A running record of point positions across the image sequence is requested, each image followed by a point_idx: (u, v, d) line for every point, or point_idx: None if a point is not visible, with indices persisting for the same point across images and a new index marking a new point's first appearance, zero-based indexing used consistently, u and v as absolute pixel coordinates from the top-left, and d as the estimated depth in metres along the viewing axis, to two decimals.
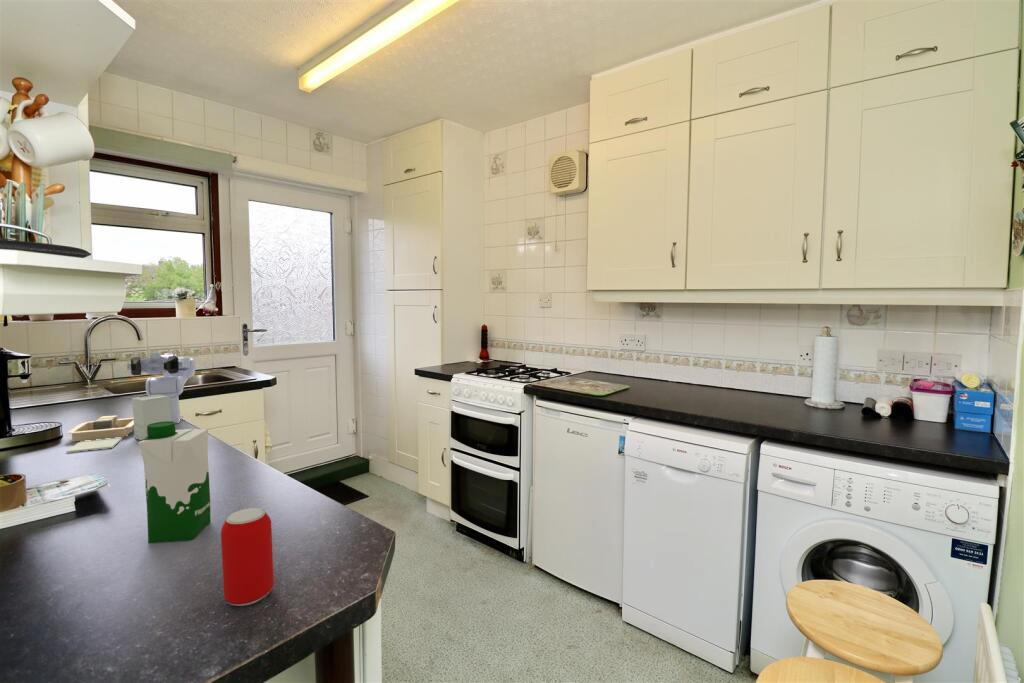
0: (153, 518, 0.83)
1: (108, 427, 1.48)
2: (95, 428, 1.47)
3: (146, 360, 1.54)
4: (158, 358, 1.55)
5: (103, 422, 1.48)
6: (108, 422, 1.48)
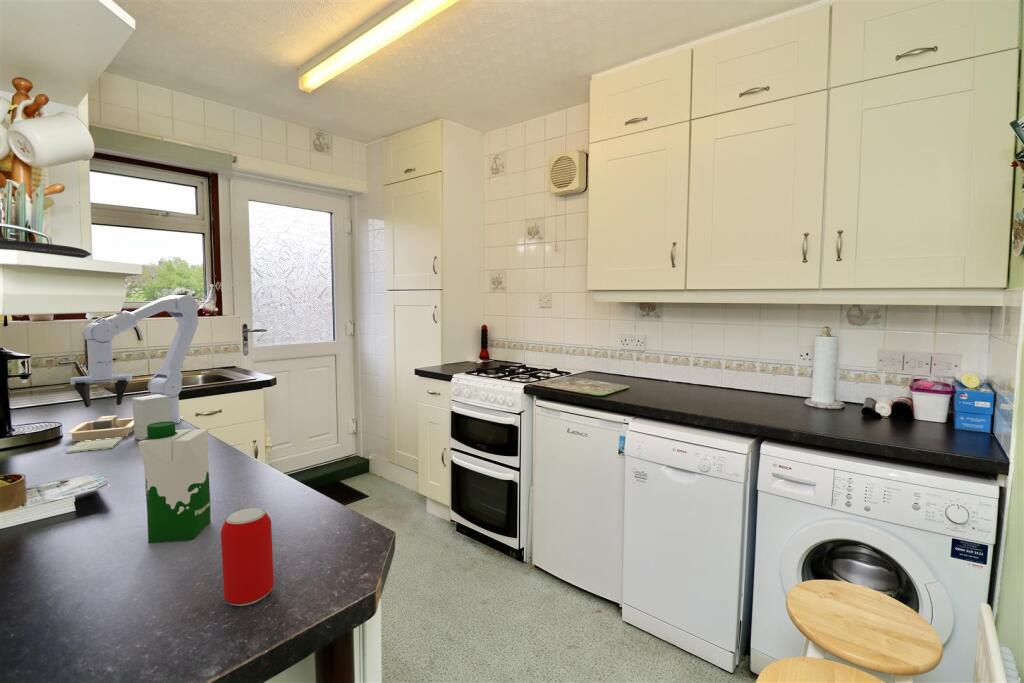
0: (153, 518, 0.83)
1: (108, 427, 1.48)
2: (95, 428, 1.47)
3: (89, 380, 1.47)
4: None
5: (103, 422, 1.48)
6: (108, 422, 1.48)
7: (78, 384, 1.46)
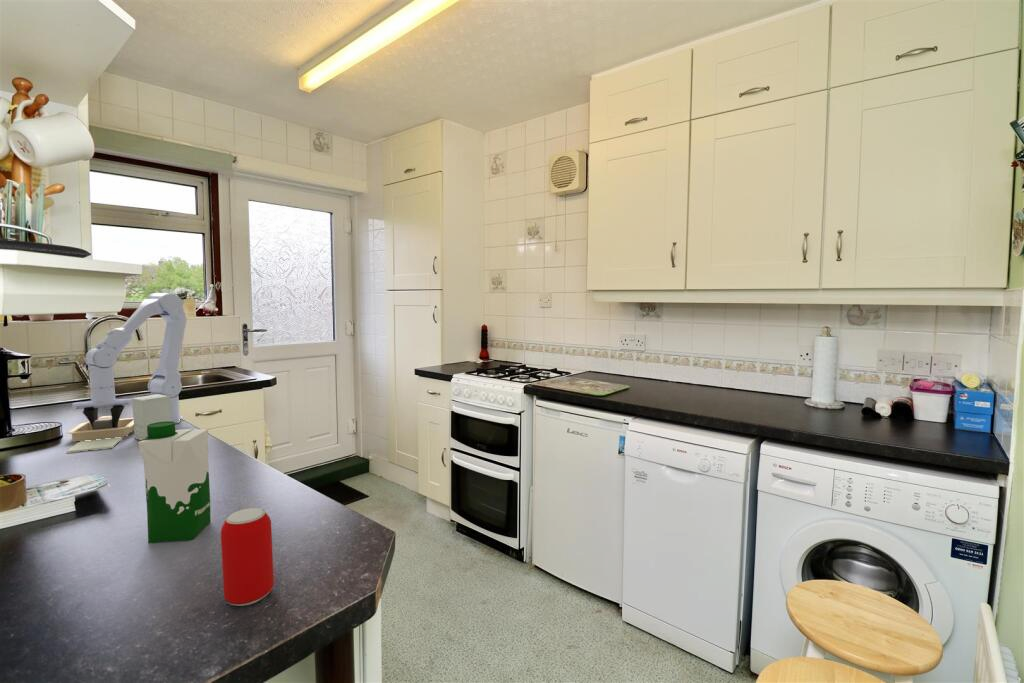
0: (153, 518, 0.83)
1: (108, 427, 1.48)
2: (95, 428, 1.47)
3: None
4: None
5: (103, 422, 1.48)
6: (108, 422, 1.48)
7: None
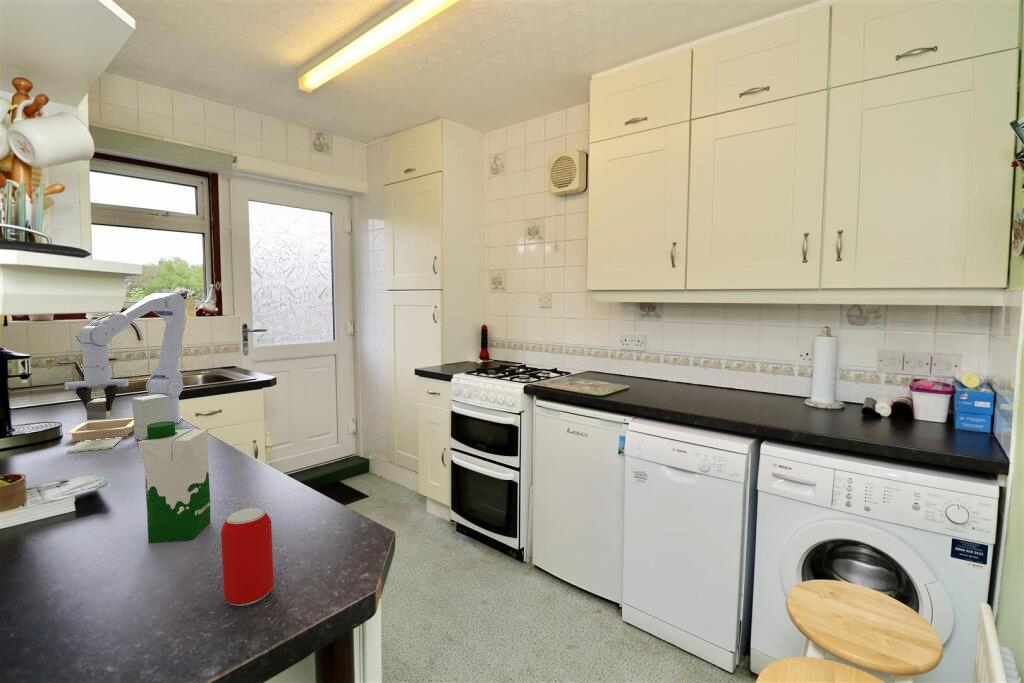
0: (153, 518, 0.83)
1: (102, 408, 1.43)
2: (88, 409, 1.42)
3: (84, 385, 1.42)
4: None
5: (97, 403, 1.42)
6: (102, 403, 1.43)
7: None
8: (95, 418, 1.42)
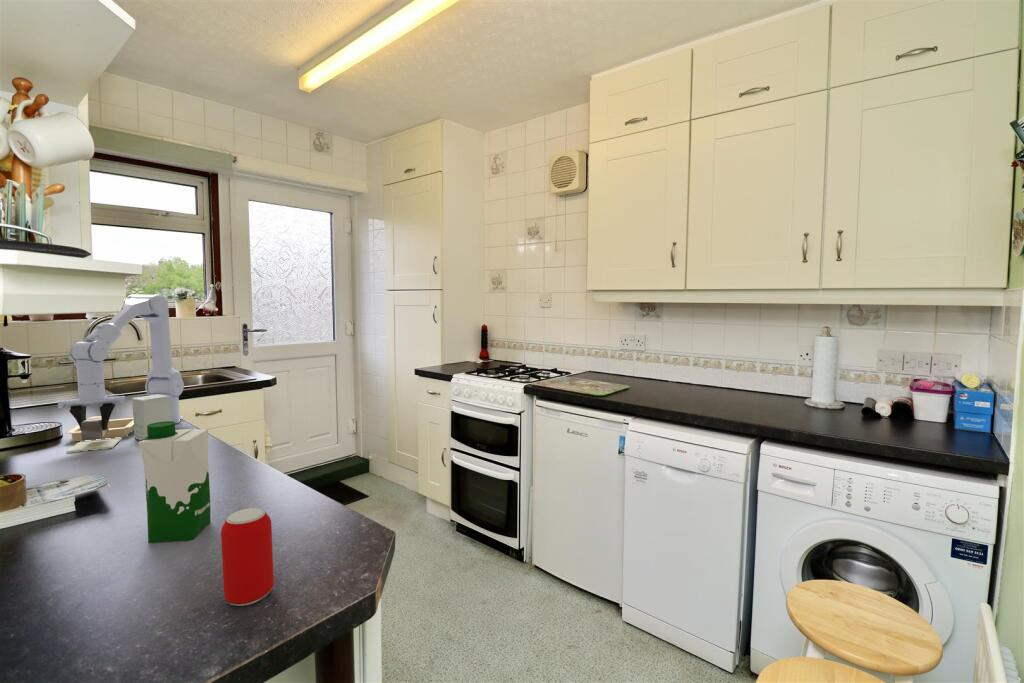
0: (153, 518, 0.83)
1: (97, 428, 1.37)
2: (83, 429, 1.35)
3: (79, 403, 1.36)
4: None
5: (92, 422, 1.36)
6: (97, 422, 1.37)
7: None
8: (90, 438, 1.36)
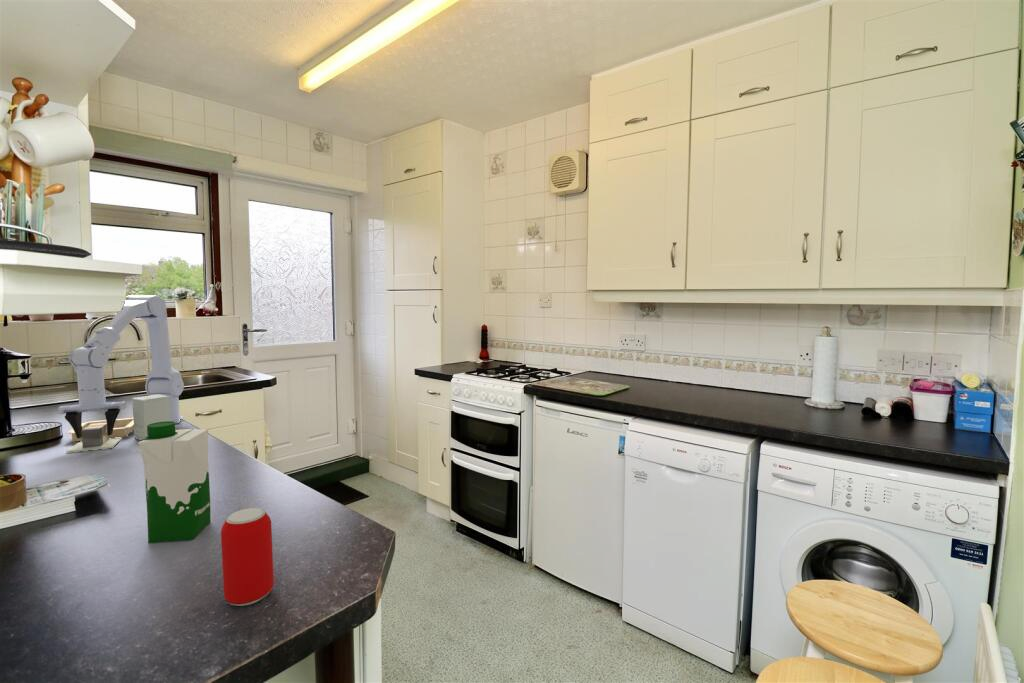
0: (153, 518, 0.83)
1: (98, 435, 1.37)
2: (84, 437, 1.35)
3: None
4: None
5: (92, 430, 1.36)
6: (98, 430, 1.37)
7: (67, 414, 1.35)
8: (91, 446, 1.36)
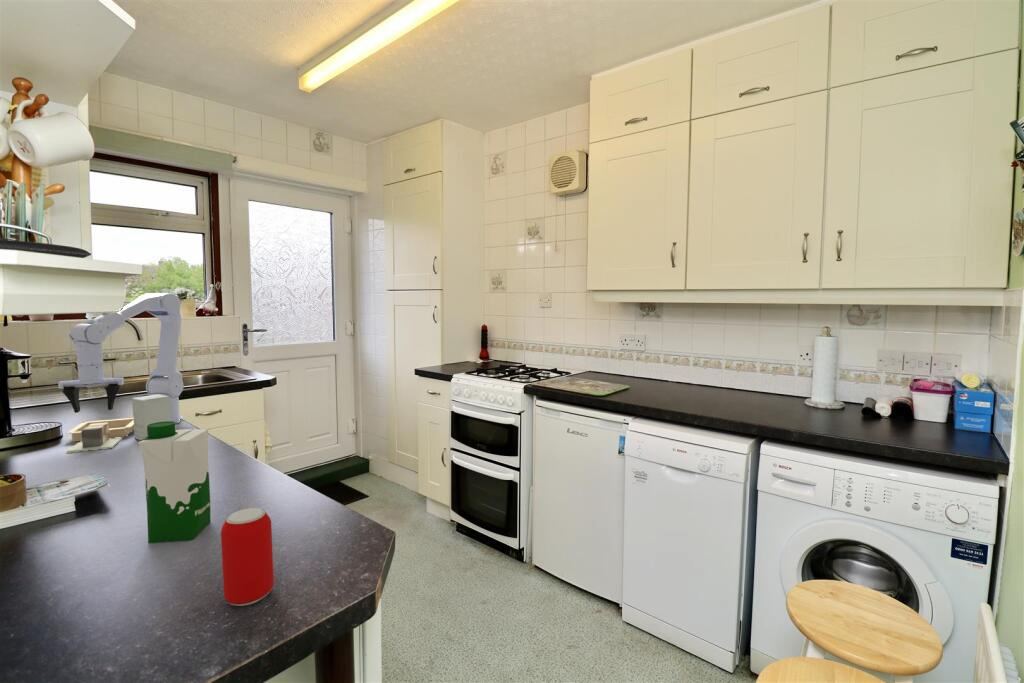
0: (153, 518, 0.83)
1: (98, 435, 1.37)
2: (84, 437, 1.35)
3: (78, 384, 1.40)
4: None
5: (92, 430, 1.36)
6: (98, 430, 1.37)
7: (67, 388, 1.39)
8: (91, 446, 1.36)
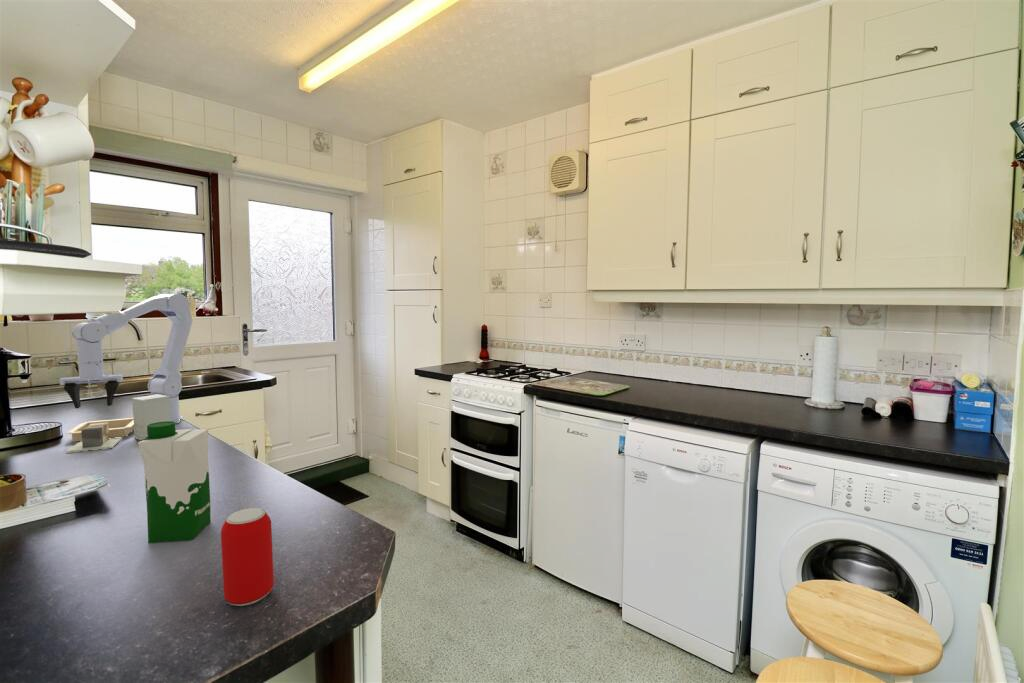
0: (153, 518, 0.83)
1: (98, 435, 1.37)
2: (84, 437, 1.35)
3: (79, 380, 1.45)
4: None
5: (92, 430, 1.36)
6: (98, 430, 1.37)
7: (68, 385, 1.44)
8: (91, 446, 1.36)
